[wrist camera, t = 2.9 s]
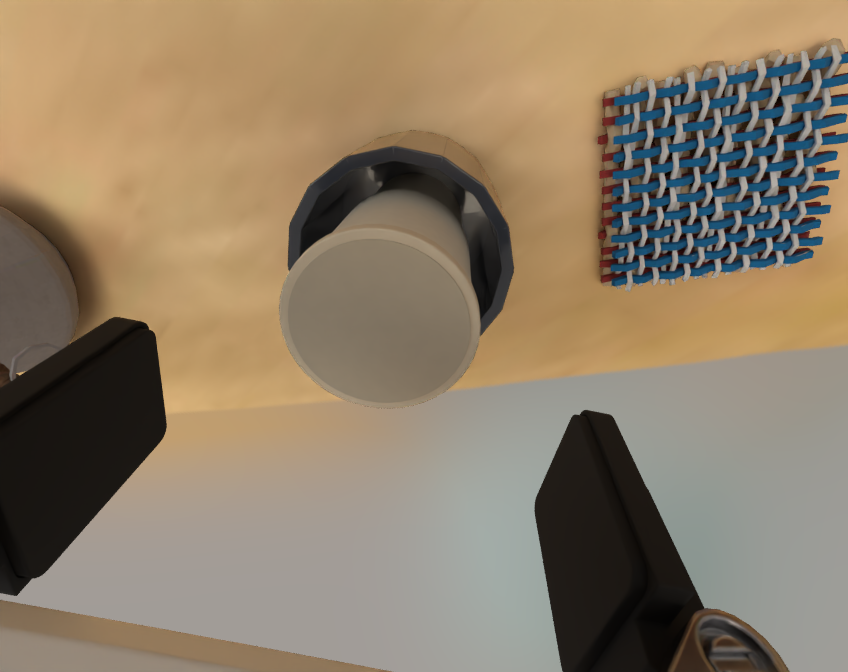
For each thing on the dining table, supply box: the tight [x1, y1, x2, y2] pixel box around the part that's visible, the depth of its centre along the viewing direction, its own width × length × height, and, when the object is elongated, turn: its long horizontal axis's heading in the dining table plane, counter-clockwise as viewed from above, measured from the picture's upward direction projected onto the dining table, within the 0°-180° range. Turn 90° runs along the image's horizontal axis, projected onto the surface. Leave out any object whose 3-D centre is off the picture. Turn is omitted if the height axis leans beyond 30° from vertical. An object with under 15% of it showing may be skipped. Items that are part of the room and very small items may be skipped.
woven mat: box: [598, 38, 848, 292], centre depth 22 cm, size 10×11×2 cm
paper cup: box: [279, 173, 481, 408], centre depth 19 cm, size 6×6×13 cm
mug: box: [288, 130, 514, 336], centre depth 22 cm, size 12×9×8 cm
